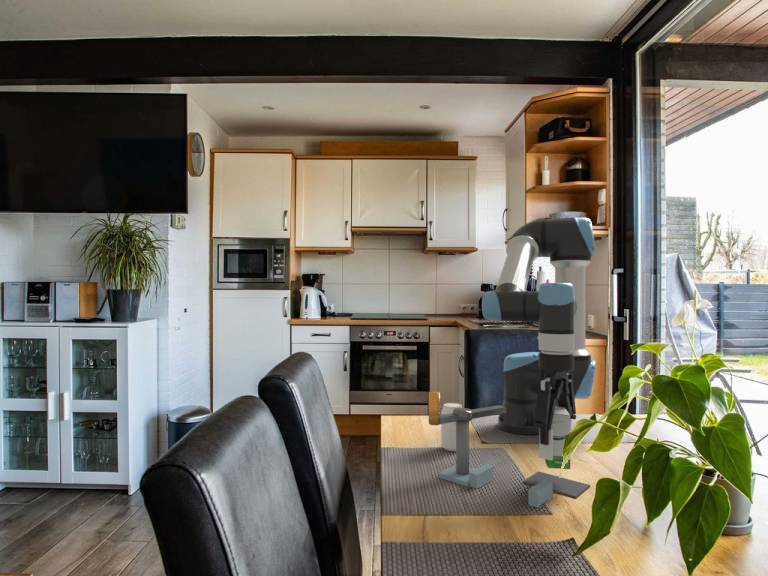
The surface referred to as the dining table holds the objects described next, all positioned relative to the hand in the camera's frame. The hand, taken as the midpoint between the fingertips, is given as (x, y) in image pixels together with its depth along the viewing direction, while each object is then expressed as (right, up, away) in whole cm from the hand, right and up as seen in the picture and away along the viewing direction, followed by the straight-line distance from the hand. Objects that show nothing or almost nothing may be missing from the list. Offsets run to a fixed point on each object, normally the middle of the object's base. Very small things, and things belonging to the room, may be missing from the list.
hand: (556, 452), depth 110 cm
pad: (0, -7, 0) cm, 7 cm away
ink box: (0, -2, 0) cm, 2 cm away
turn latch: (-19, +6, +6) cm, 20 cm away
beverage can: (-20, -7, +25) cm, 32 cm away
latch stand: (-14, -7, -1) cm, 16 cm away
